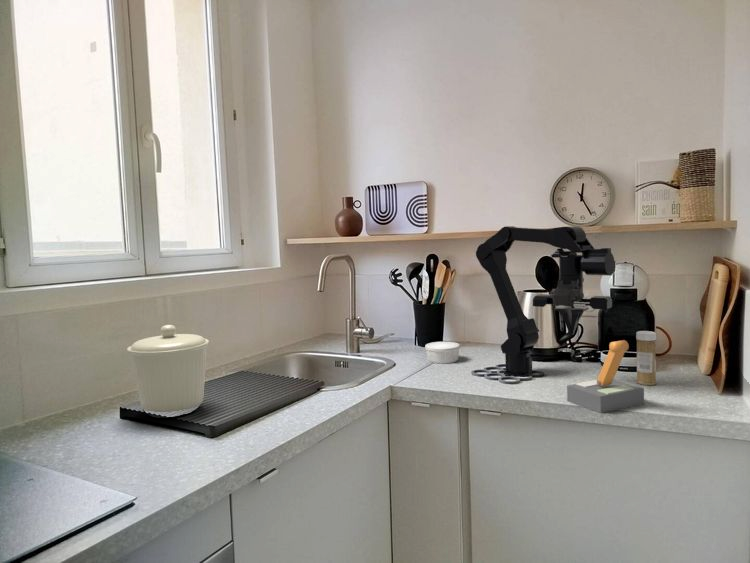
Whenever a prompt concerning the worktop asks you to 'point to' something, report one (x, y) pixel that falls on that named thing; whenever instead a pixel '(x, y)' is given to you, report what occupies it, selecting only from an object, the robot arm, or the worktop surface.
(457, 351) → the ramekin
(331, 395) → the worktop surface
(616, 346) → the lever
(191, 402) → the canister
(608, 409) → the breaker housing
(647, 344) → the sprinkles bottle
